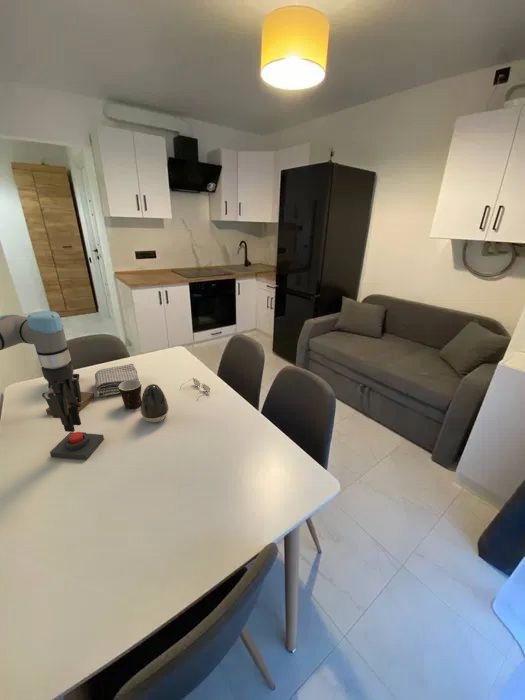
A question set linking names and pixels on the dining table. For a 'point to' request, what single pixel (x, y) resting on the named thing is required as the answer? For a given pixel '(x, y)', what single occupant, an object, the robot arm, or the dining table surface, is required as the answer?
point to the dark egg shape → (154, 404)
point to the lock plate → (86, 399)
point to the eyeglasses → (199, 385)
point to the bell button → (76, 437)
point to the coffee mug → (131, 393)
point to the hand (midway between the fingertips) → (73, 427)
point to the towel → (114, 379)
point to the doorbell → (77, 447)
